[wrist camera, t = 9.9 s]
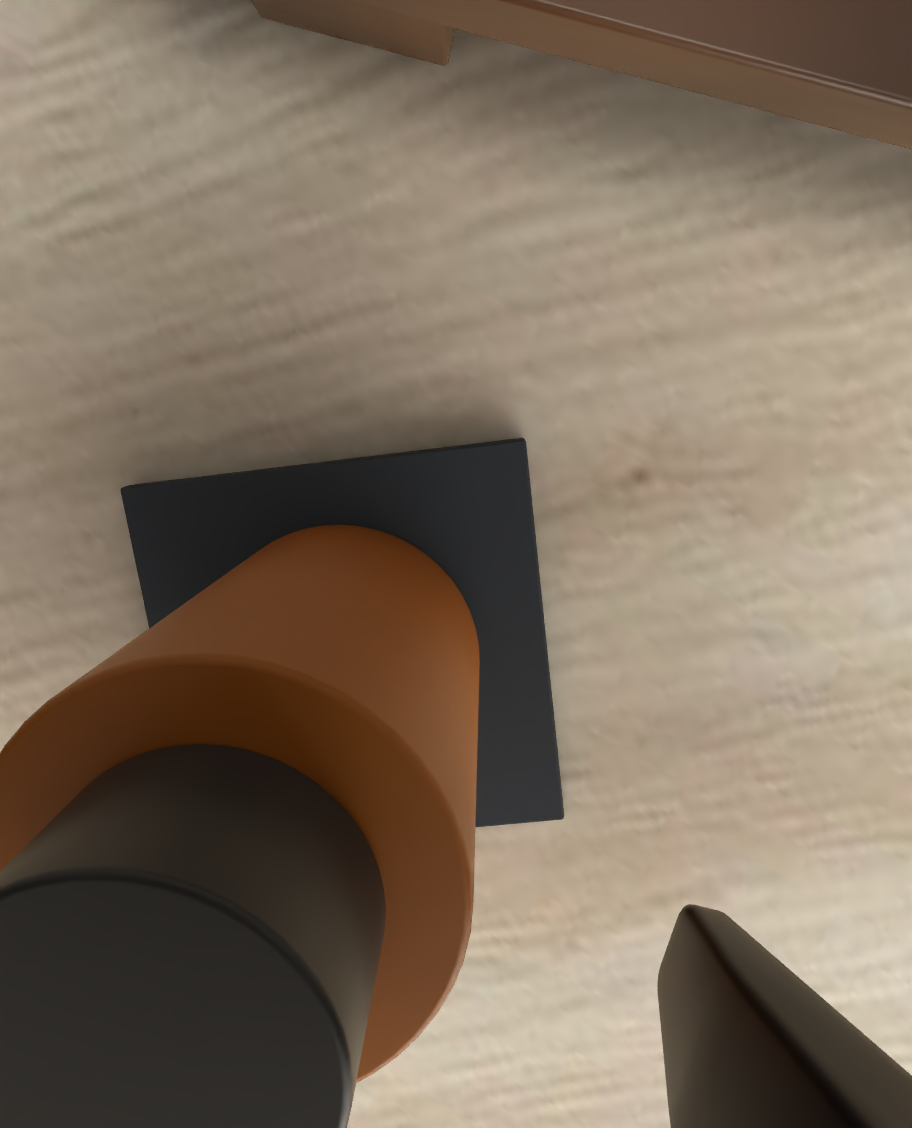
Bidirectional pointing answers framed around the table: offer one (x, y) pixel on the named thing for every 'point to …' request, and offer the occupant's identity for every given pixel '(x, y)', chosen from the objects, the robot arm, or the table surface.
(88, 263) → the table surface
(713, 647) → the table surface
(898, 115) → the shelf
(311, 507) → the coaster
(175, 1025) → the spice bottle
